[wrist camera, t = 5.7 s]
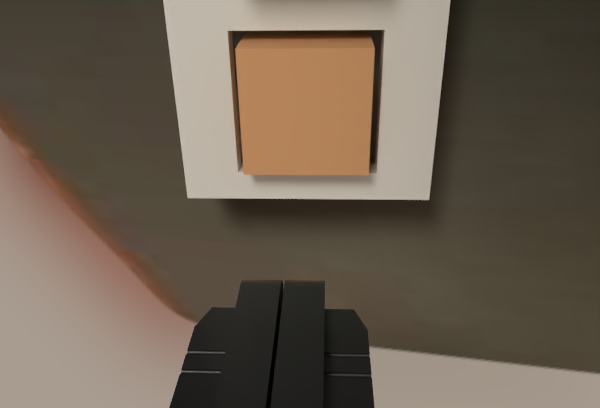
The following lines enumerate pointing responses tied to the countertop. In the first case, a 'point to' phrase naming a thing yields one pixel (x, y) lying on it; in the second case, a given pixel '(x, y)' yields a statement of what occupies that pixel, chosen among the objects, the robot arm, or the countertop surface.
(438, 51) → the white button panel
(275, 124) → the terracotta button
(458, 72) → the countertop surface
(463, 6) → the countertop surface
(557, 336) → the countertop surface
